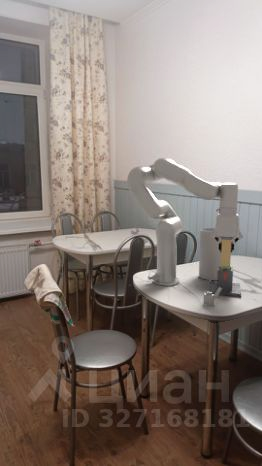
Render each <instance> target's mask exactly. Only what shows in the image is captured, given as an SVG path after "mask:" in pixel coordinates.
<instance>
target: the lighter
mask: <svg viewBox="0 0 262 466" xmlns="http://www.w3.org/2000/svg"><path fill="white" fill-rule="evenodd" d="M221 290H222V288H220V287H219V288H218V289H217V291H216V293H215V294H212V292H208V291H206V292H204V293H203V303H202V304H203V305H206V306H213V307H214V305H215V299H216V298H217V297H218V296H220V295H219V293H220V291H221Z"/></svg>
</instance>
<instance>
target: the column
mask: <svg viewBox="0 0 262 466" xmlns="http://www.w3.org/2000/svg"><path fill="white" fill-rule="evenodd" d="M221 240H222V252H221V267H220V268H221V270H223V268H225V269H228V270H230V267H231V258H232V257H231V255H232V254H231V242H232V238H231V237H221Z"/></svg>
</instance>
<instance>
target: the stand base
mask: <svg viewBox="0 0 262 466" xmlns="http://www.w3.org/2000/svg"><path fill="white" fill-rule="evenodd" d="M220 267H221V266H218V275H217V280H216V281H214V280H209V283H208V291H207V292H212V294H215V293H216V291H217V289H218V288H219V287H220V288H222V290H221V291H220V293H219V295H218V296H224V297H236V298H242V289H241V283H236V282H233V279H234V267H233V266H230V270H228V269H225V268H223V270H221V268H220Z"/></svg>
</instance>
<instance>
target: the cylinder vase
mask: <svg viewBox="0 0 262 466" xmlns="http://www.w3.org/2000/svg"><path fill="white" fill-rule="evenodd" d="M214 230H215V227H202V228H200V230H199V254H198V255H199V259H198V260H199V261H198V262H199V263H198V276H199V278H201V279H203V280H207V281H217V275H218V266H221V252H220V250H218V249H219V243H218V242H217V241H216V240H215V239H214V238H213V237H211V234H212V233H213V231H214ZM215 236H216V235H215ZM218 238H219V237H218ZM221 241H222V240H221Z"/></svg>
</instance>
